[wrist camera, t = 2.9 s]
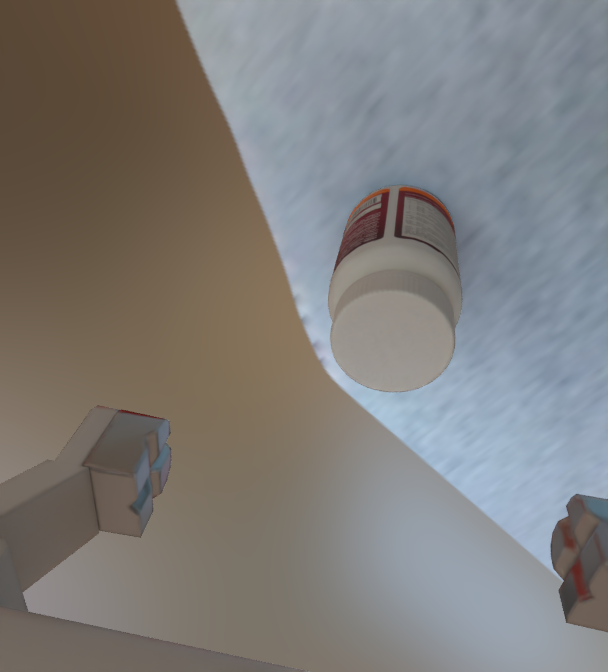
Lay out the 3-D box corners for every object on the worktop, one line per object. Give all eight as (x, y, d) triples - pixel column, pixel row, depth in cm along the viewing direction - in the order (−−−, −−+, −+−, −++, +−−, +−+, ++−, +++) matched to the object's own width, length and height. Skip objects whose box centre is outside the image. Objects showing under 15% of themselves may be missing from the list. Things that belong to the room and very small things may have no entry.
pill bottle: (348, 281, 35) (322, 401, 26) (342, 183, 32) (309, 280, 22) (452, 281, 34) (463, 406, 25) (458, 178, 31) (473, 279, 21)
